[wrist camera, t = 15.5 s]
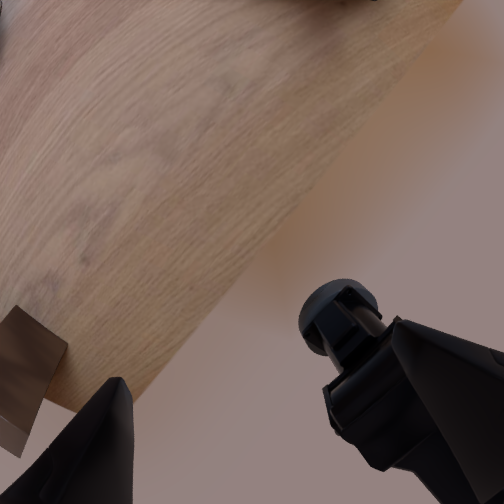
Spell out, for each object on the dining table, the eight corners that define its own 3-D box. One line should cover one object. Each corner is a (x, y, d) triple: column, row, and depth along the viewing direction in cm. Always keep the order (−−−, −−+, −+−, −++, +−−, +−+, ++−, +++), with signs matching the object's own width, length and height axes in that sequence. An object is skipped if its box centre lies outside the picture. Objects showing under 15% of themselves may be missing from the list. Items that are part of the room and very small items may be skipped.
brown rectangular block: (68, 343, 21) (29, 435, 11) (51, 377, 22) (20, 458, 12) (16, 304, 19) (-43, 381, 9) (4, 343, 20) (-40, 416, 10)
